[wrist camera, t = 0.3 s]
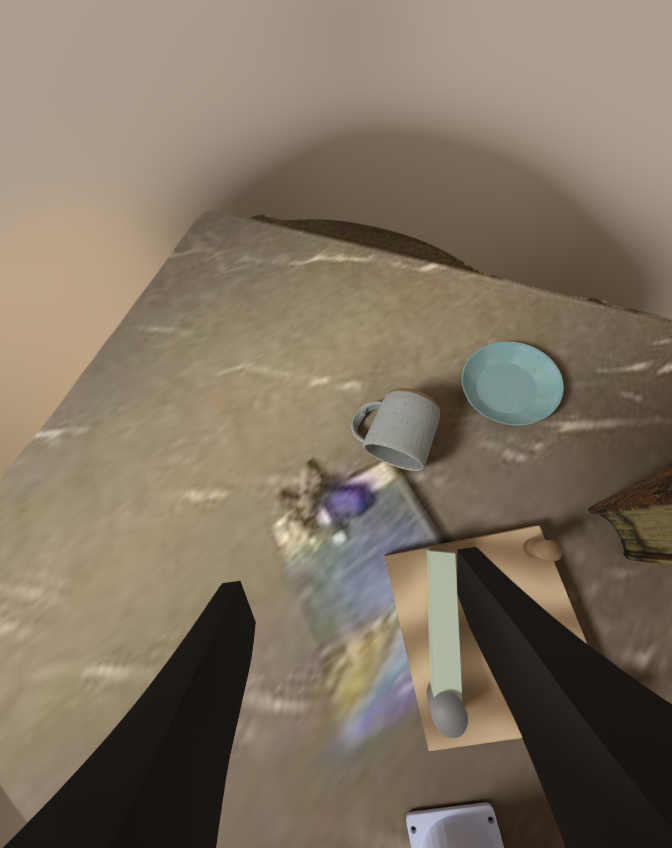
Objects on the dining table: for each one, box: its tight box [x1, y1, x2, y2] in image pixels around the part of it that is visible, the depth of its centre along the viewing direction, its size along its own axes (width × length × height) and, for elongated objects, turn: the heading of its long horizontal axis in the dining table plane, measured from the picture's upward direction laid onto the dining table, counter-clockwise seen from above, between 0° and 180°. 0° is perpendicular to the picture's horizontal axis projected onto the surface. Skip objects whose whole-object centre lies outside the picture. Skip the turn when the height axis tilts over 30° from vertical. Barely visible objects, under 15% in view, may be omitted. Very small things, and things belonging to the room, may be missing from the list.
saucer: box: [462, 342, 564, 425], centre depth 40 cm, size 12×12×2 cm
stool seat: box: [385, 526, 587, 751], centre depth 30 cm, size 17×17×6 cm
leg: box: [427, 550, 468, 738], centre depth 30 cm, size 14×3×4 cm, turn 176°
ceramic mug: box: [351, 388, 440, 471], centre depth 38 cm, size 11×8×8 cm
